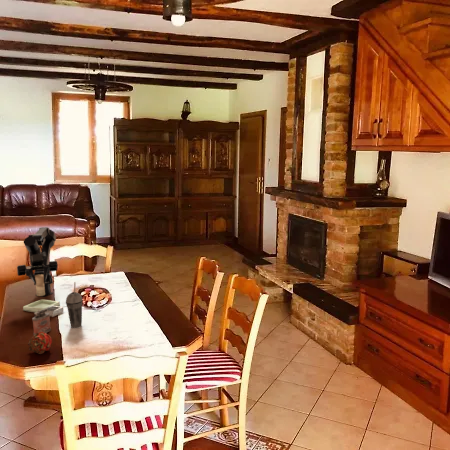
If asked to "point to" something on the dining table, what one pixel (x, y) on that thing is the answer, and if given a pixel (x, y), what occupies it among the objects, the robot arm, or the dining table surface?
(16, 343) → the dining table surface
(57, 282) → the dining table surface
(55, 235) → the robot arm
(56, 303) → the tray
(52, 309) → the pin socket
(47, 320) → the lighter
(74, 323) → the beverage cup
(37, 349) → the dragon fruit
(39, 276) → the pin
